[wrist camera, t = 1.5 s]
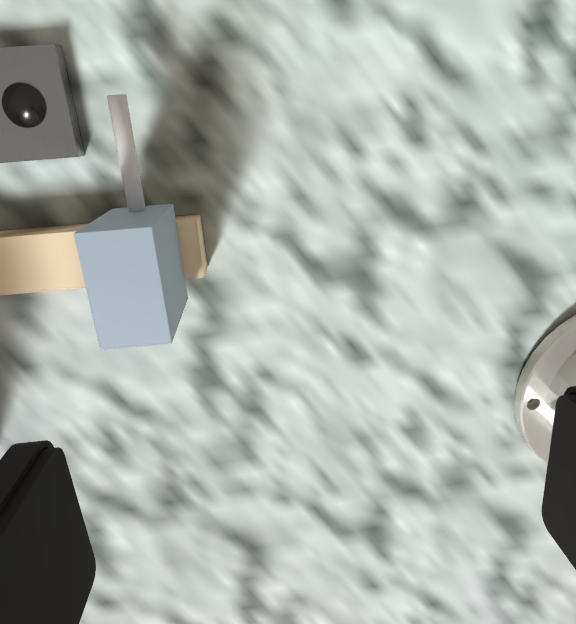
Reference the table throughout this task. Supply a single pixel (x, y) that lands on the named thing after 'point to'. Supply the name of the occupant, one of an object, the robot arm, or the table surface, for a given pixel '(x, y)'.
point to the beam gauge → (75, 257)
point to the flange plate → (36, 105)
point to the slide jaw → (132, 258)
